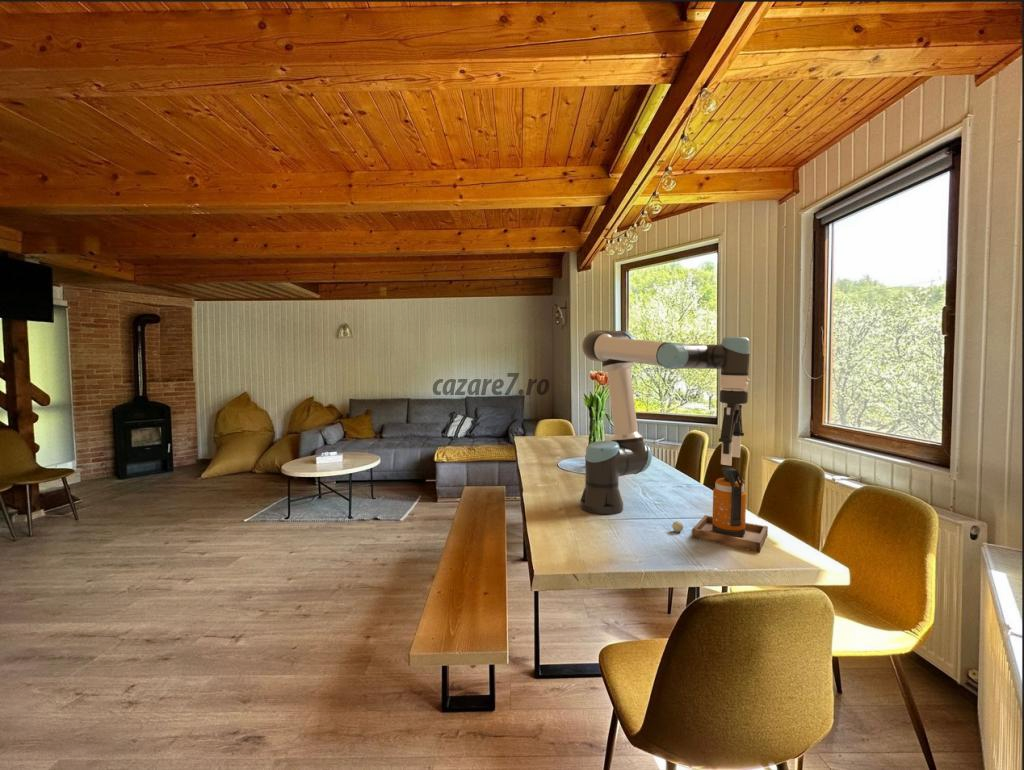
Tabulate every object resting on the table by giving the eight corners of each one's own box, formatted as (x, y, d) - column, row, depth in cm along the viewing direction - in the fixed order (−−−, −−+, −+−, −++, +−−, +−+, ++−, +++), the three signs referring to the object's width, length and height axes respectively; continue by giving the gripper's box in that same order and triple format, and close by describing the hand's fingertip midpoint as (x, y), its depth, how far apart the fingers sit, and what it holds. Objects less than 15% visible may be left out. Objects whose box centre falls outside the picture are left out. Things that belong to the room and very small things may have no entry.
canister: (737, 528, 146) (739, 464, 145) (753, 541, 135) (755, 472, 134) (708, 527, 146) (709, 463, 145) (721, 540, 135) (722, 471, 134)
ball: (670, 531, 145) (671, 521, 144) (673, 528, 147) (674, 518, 147) (681, 534, 143) (681, 523, 143) (684, 531, 145) (684, 520, 145)
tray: (691, 537, 140) (692, 529, 139) (704, 523, 153) (705, 515, 153) (759, 552, 129) (760, 542, 129) (767, 534, 142) (767, 526, 142)
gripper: (740, 392, 127) (736, 470, 128) (754, 388, 147) (751, 455, 148) (710, 391, 131) (707, 466, 132) (728, 387, 151) (725, 452, 153)
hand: (730, 460), depth 140 cm, fingers open, 13 cm apart
